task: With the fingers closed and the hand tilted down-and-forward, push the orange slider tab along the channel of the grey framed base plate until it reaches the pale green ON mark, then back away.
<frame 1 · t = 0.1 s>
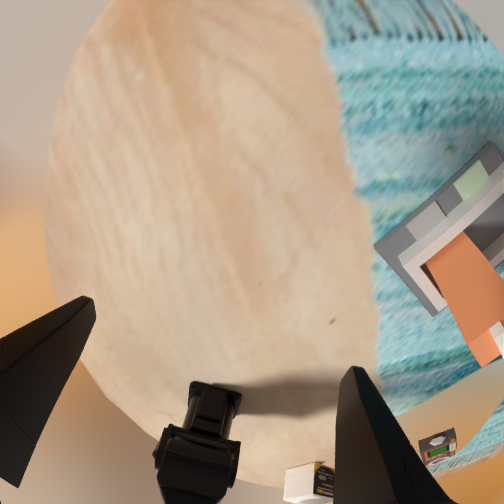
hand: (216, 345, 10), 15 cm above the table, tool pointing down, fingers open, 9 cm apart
medicine bottle: (311, 468, 48), on the table
grey framed base plate: (462, 235, 21), on the table
electronic device: (436, 443, 41), on the table
switch tab: (475, 294, 17), point 6 cm above the table, slide at 0.0 cm
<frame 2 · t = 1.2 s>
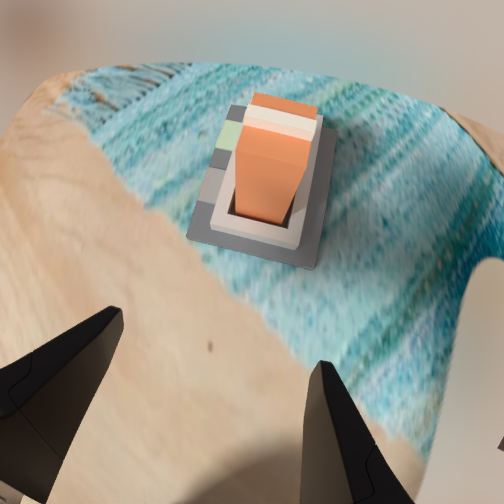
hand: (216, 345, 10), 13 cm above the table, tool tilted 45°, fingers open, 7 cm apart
grey framed base plate: (268, 180, 26), on the table
switch tab: (270, 166, 19), point 6 cm above the table, slide at 0.0 cm
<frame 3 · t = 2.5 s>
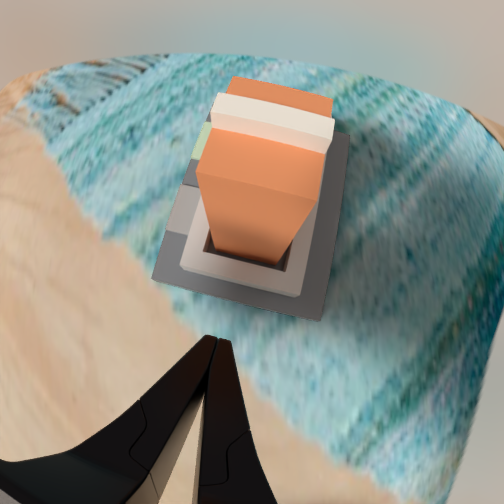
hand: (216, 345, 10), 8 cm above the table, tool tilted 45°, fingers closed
grey framed base plate: (260, 201, 20), on the table
switch tab: (260, 188, 13), point 6 cm above the table, slide at 0.0 cm
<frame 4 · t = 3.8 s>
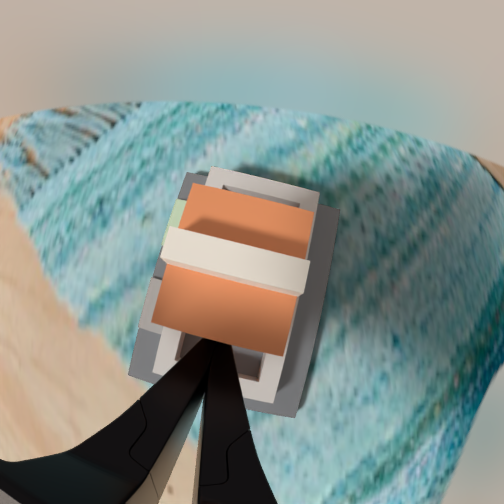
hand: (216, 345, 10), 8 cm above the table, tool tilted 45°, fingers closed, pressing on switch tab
grey framed base plate: (237, 293, 18), on the table
switch tab: (235, 286, 12), point 6 cm above the table, slide at 1.6 cm, touching gripper
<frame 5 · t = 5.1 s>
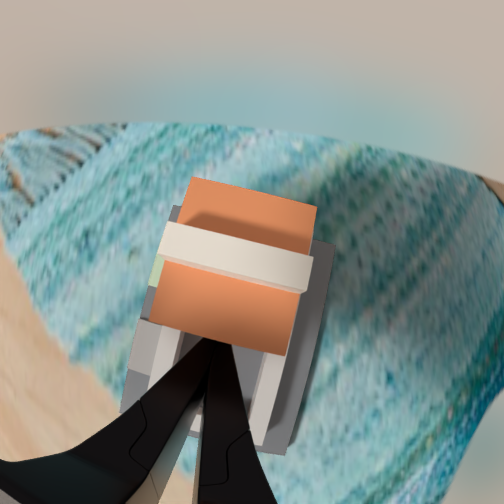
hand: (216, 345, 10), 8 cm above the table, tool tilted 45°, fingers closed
grey framed base plate: (226, 333, 18), on the table
switch tab: (235, 283, 12), point 6 cm above the table, slide at 4.2 cm
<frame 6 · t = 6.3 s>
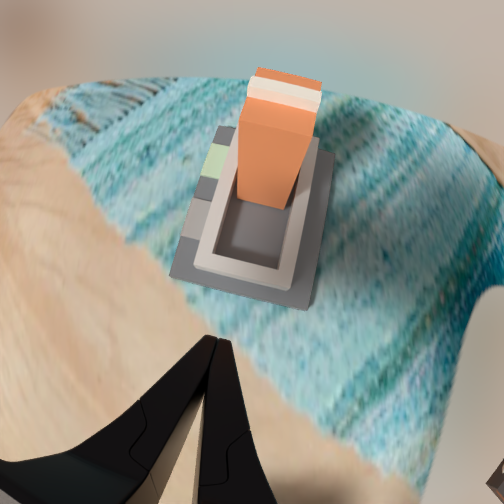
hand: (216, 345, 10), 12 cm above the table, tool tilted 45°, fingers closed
grey framed base plate: (258, 211, 24), on the table
switch tab: (273, 144, 18), point 6 cm above the table, slide at 4.2 cm
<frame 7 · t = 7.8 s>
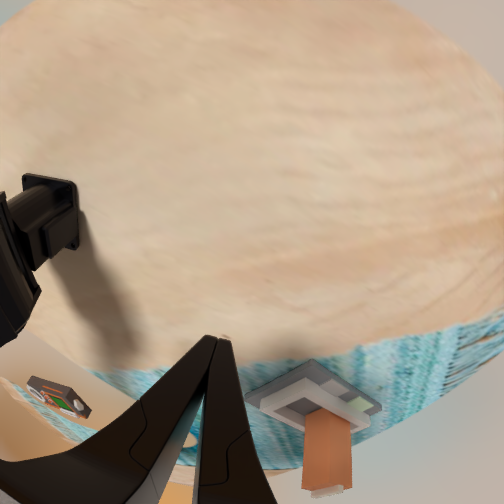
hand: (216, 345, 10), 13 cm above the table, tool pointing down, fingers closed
grey framed base plate: (315, 402, 32), on the table
electronic device: (57, 389, 44), on the table
switch tab: (327, 453, 27), point 6 cm above the table, slide at 4.2 cm
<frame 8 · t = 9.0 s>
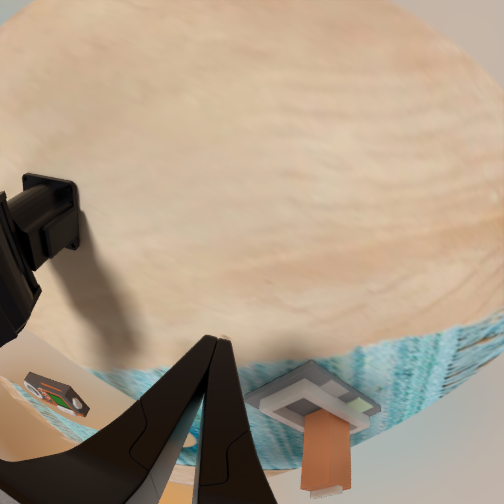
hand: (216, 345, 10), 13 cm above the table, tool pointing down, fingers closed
grey framed base plate: (315, 403, 32), on the table
electronic device: (55, 386, 44), on the table
switch tab: (327, 454, 28), point 6 cm above the table, slide at 4.2 cm
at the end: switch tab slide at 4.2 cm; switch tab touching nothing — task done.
